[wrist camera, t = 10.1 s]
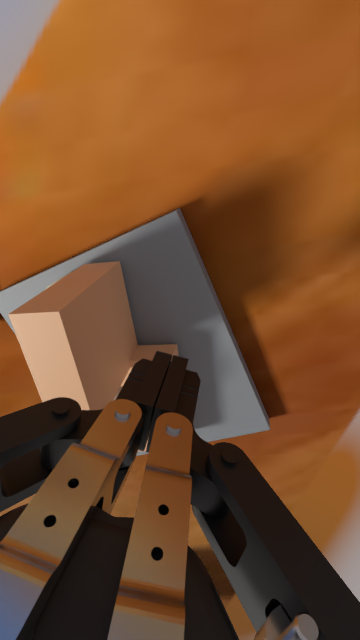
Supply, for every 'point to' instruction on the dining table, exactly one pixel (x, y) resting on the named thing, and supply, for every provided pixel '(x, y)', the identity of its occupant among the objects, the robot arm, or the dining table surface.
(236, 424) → the post base
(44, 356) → the peach open lidded box
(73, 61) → the dining table surface
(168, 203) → the dining table surface
